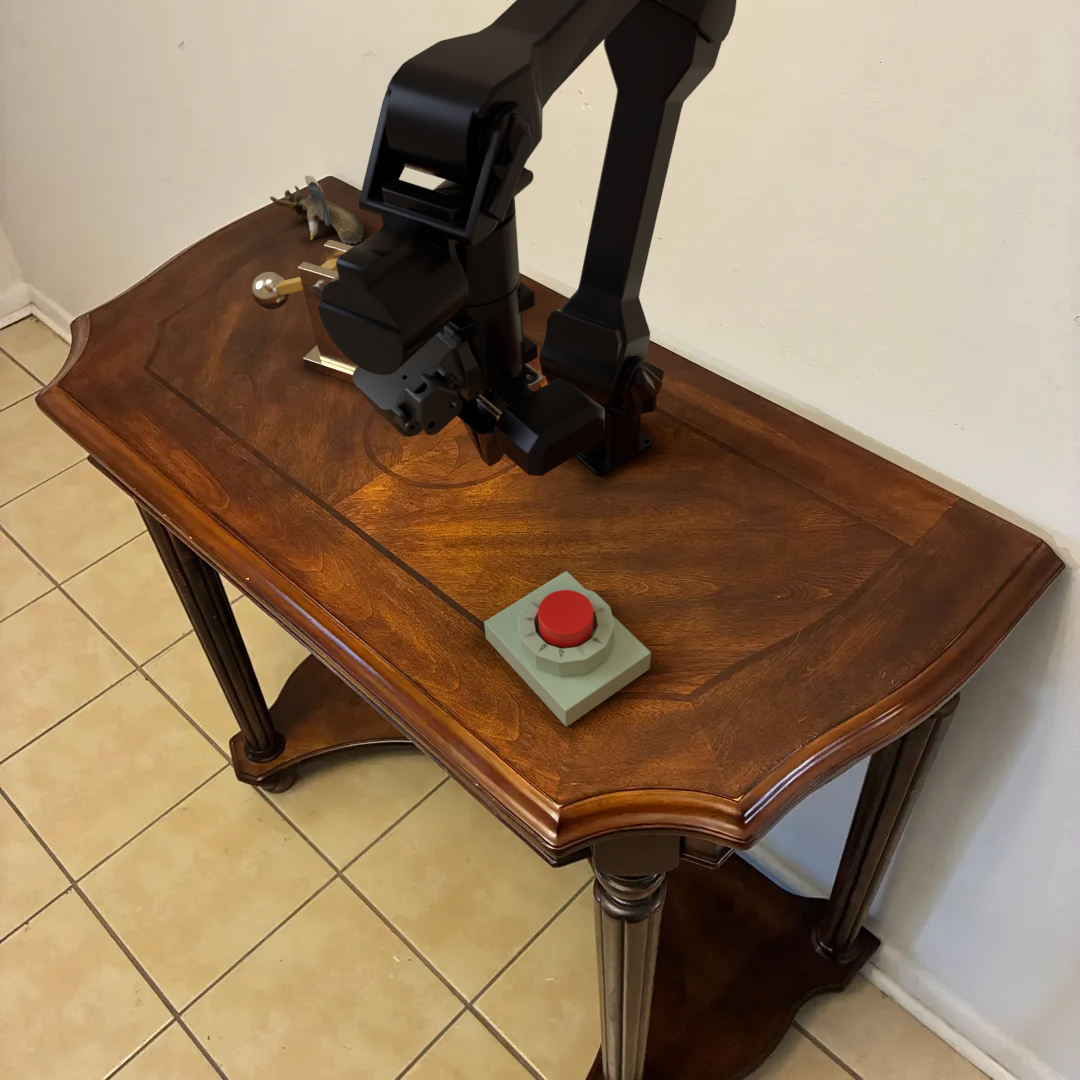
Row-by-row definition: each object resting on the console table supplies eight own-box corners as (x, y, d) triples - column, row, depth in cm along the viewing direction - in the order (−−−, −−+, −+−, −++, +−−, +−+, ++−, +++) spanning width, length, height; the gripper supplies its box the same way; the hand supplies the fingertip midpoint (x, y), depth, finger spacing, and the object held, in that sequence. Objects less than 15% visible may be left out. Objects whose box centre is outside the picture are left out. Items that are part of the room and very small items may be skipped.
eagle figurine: (267, 234, 113) (325, 241, 109) (270, 168, 111) (329, 172, 107) (315, 240, 119) (371, 247, 115) (318, 178, 118) (376, 182, 113)
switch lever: (258, 318, 99) (237, 287, 97) (280, 299, 101) (260, 267, 99) (345, 300, 91) (324, 265, 89) (367, 280, 93) (347, 245, 91)
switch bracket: (305, 367, 99) (277, 264, 90) (340, 334, 102) (317, 232, 93) (371, 390, 96) (350, 286, 87) (405, 354, 100) (387, 252, 91)
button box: (650, 669, 74) (652, 637, 71) (566, 727, 71) (565, 697, 68) (566, 587, 79) (566, 555, 76) (485, 638, 76) (481, 607, 73)
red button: (604, 629, 72) (604, 614, 71) (561, 657, 71) (561, 643, 69) (570, 595, 74) (570, 580, 73) (527, 622, 73) (526, 607, 71)
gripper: (281, 264, 62) (330, 445, 74) (454, 415, 52) (479, 595, 64) (427, 200, 66) (451, 380, 78) (612, 328, 57) (608, 512, 68)
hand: (491, 461), depth 72 cm, fingers closed
